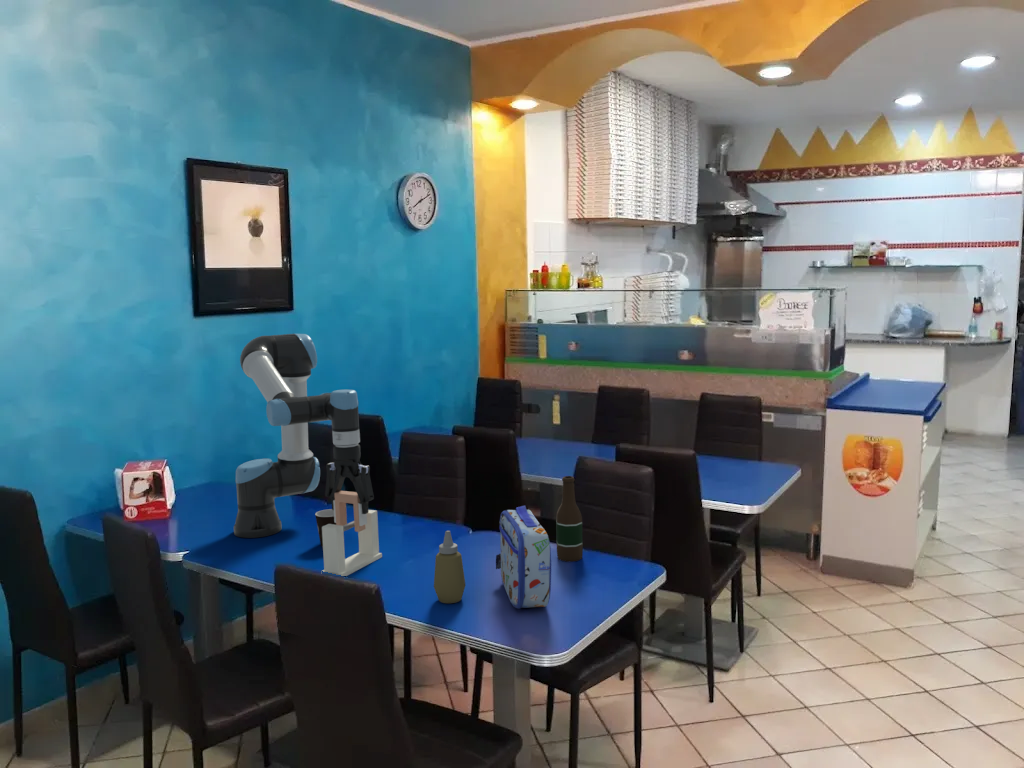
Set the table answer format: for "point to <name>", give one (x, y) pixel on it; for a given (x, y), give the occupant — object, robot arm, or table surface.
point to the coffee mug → (324, 521)
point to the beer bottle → (569, 525)
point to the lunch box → (524, 559)
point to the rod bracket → (335, 546)
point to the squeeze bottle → (449, 572)
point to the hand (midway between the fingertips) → (350, 522)
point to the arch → (340, 508)
